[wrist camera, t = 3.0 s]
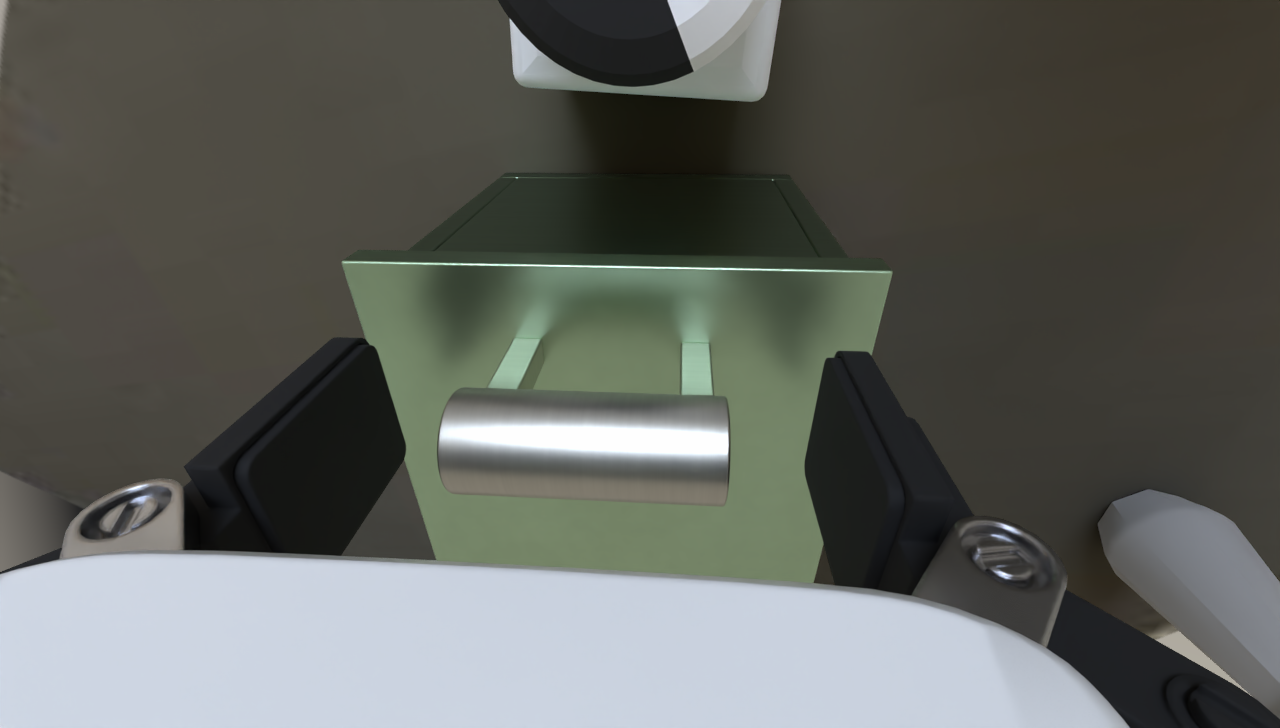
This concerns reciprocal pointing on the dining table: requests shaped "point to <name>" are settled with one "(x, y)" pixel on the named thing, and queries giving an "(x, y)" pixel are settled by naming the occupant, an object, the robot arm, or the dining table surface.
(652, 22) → the medicine bottle
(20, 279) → the dining table surface
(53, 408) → the dining table surface
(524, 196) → the bin
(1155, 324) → the dining table surface
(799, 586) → the robot arm
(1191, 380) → the dining table surface
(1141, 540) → the salt shaker
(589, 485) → the bin lid
